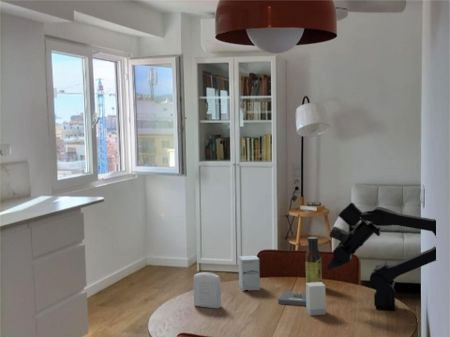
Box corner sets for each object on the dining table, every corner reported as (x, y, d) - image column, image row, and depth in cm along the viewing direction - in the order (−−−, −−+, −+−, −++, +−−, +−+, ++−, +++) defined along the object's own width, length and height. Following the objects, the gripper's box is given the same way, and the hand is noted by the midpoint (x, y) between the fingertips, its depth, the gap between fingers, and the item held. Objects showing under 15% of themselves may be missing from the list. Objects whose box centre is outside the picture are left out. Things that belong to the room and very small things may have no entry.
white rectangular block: (321, 310, 185) (321, 281, 184) (325, 314, 180) (325, 285, 180) (306, 311, 184) (305, 282, 183) (310, 315, 180) (309, 286, 179)
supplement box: (241, 291, 209) (241, 260, 208) (239, 286, 216) (238, 255, 215) (260, 290, 210) (259, 258, 209) (256, 285, 217) (256, 254, 216)
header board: (316, 297, 198) (316, 289, 198) (311, 306, 189) (311, 297, 189) (284, 295, 203) (284, 287, 202) (278, 303, 193) (278, 295, 193)
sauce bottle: (322, 289, 208) (321, 239, 207) (306, 289, 209) (304, 239, 208) (321, 284, 215) (320, 236, 213) (306, 284, 216) (305, 236, 214)
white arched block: (223, 305, 193) (221, 272, 192) (218, 309, 189) (217, 275, 188) (197, 302, 197) (196, 270, 196) (192, 306, 193) (191, 273, 192)
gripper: (346, 215, 197) (318, 244, 202) (338, 224, 180) (307, 255, 185) (369, 236, 195) (340, 265, 200) (363, 247, 178) (331, 278, 182)
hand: (330, 265), depth 192 cm, fingers open, 9 cm apart
